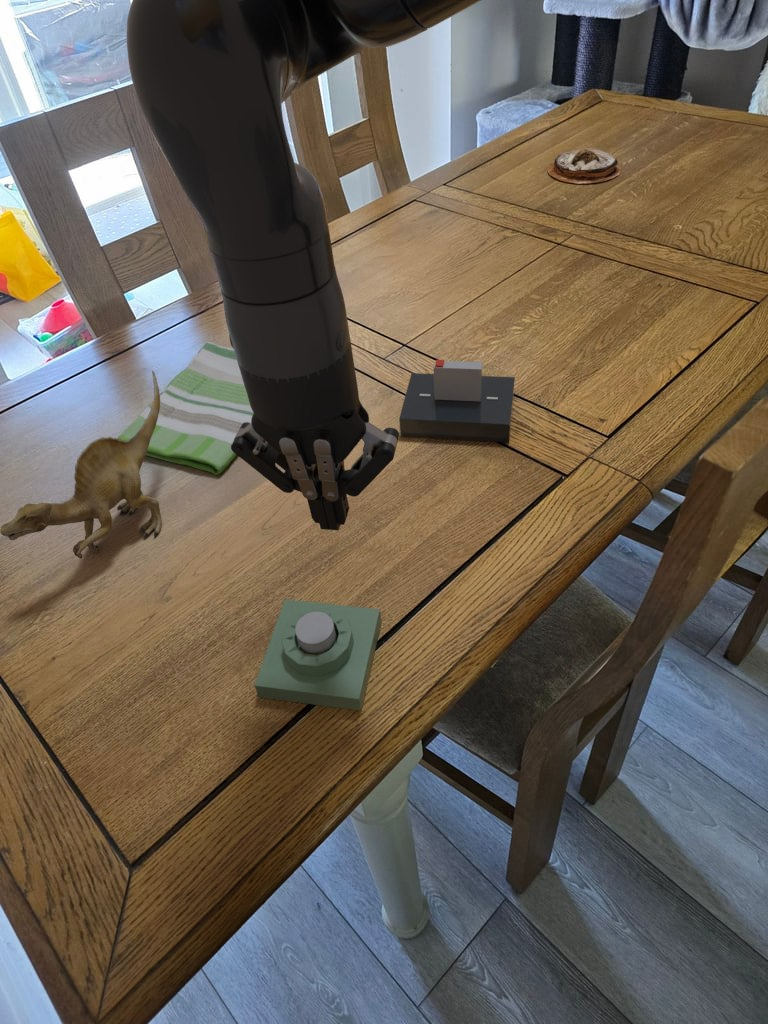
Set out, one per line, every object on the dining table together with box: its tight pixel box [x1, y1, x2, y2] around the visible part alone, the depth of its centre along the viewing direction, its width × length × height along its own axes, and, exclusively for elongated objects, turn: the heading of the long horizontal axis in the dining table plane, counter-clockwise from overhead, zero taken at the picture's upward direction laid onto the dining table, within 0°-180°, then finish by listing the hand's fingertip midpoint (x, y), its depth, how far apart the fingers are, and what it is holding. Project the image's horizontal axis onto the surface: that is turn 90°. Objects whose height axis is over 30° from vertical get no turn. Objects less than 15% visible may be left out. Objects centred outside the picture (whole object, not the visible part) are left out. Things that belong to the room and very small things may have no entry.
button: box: [295, 612, 336, 654], centre depth 65 cm, size 4×4×2 cm
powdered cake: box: [547, 147, 622, 185], centre depth 145 cm, size 15×15×4 cm
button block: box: [254, 598, 383, 712], centre depth 67 cm, size 10×10×4 cm
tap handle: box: [433, 359, 484, 402], centre depth 89 cm, size 6×2×5 cm, turn 80°
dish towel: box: [117, 341, 253, 476], centre depth 97 cm, size 17×23×4 cm
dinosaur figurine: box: [0, 370, 163, 559], centre depth 79 cm, size 8×26×13 cm, turn 155°
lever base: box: [398, 372, 516, 444], centre depth 92 cm, size 14×10×3 cm
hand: (332, 522), depth 57 cm, fingers closed
